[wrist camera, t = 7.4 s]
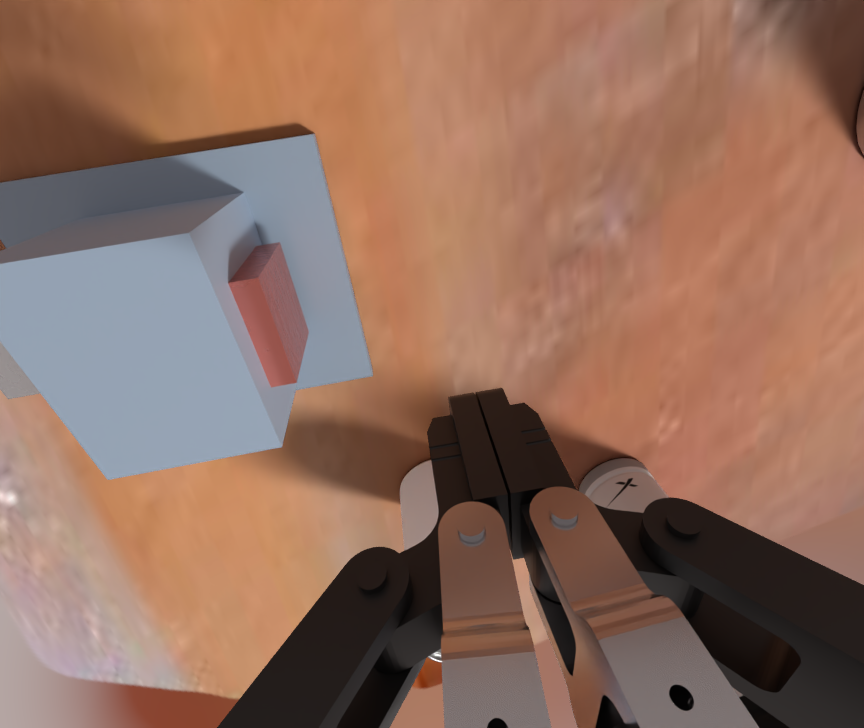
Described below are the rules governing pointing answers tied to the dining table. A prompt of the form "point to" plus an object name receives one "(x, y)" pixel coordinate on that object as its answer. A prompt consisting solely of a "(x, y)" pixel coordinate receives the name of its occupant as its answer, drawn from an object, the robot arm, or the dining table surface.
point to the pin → (262, 314)
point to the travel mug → (634, 491)
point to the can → (419, 510)
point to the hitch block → (171, 299)
